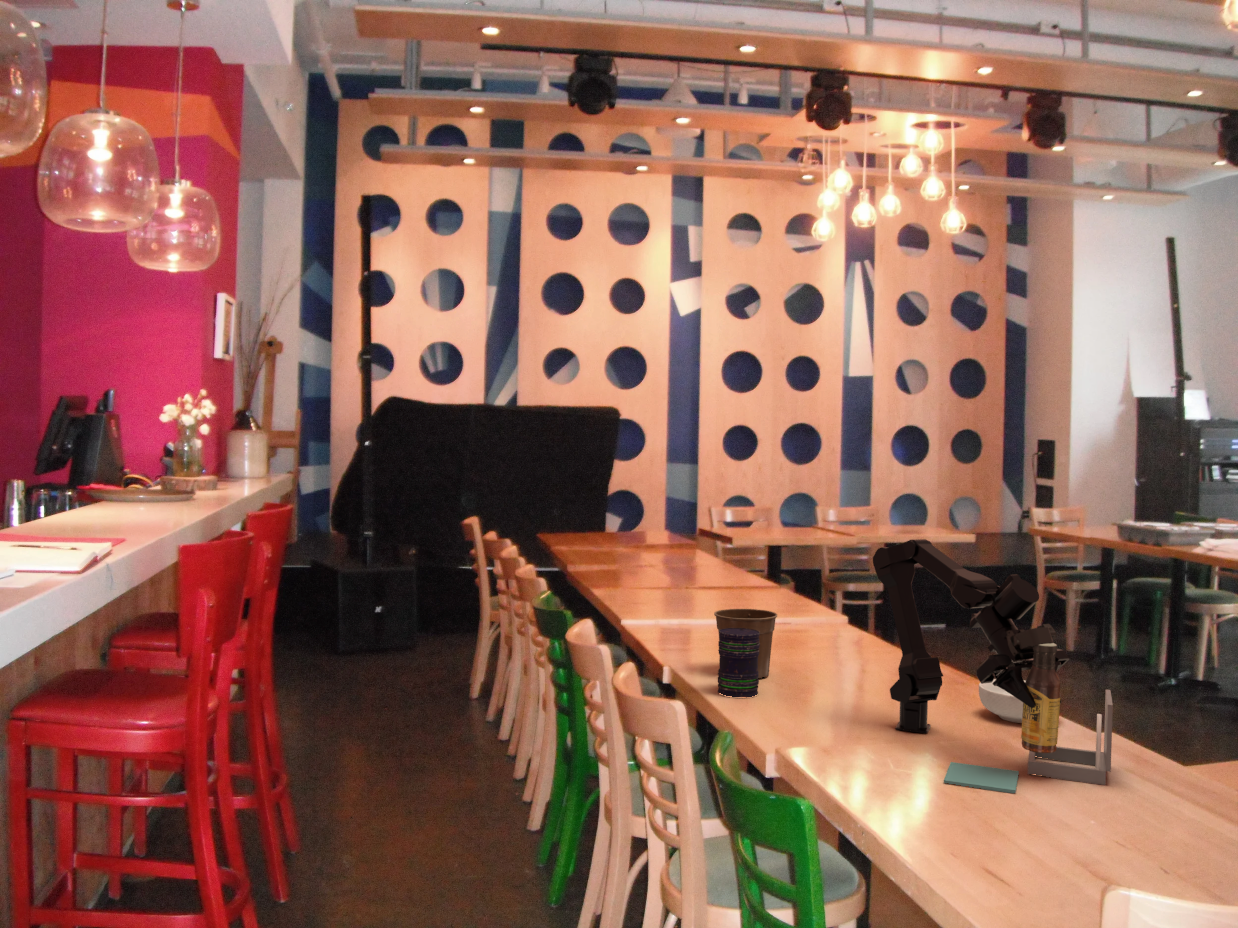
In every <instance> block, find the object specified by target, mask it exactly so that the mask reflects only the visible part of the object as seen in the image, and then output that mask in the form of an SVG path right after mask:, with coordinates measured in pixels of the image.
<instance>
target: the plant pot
mask: <svg viewBox="0 0 1238 928" xmlns="http://www.w3.org/2000/svg"><path fill="white" fill-rule="evenodd" d="M714 617H715V620H716V629H717V630H718V631H717V632H718V637H719V636H720V634H719V630H720V629H725V628H747V629H753V630H757V631H759V632H760V633H759V643H760V648H759V656H758V672H759V676H758V678H761V679H763V678H762V677H765V678H767V677H769V674H770V667H771V666H770V665H771V655H772V654H771V652H772V646H773V645H772V643H773V634H774V631H775V624H776V618H778V614H777V612H774V611H772V610H771V611H770V610H765V609H757V608H755V609H754V608H729V609H720V610H716V611H714ZM766 676H767V677H766Z"/></svg>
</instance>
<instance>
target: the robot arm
mask: <svg viewBox="0 0 1238 928" xmlns="http://www.w3.org/2000/svg"><path fill="white" fill-rule="evenodd" d="M872 563H873V568H874V571H875V574H876V576H877V579H878V580H879V581H880V583H882V584H883V585H884V587H885V588H886V589H887V593H888V597H889V601H890V605H891V610H892V613H893V619H894V623H895V627H896V631H897V636H898V641H899V645H900V646H899V647H900V650H901V654H902V656H901V658H900V663H899V665H898V668H897V669H898V670H897V671H898V676H899V677H898V679H897V680H896V682H894V684H893V685H892V686H891V687H890V688H889V694H890V700H893V701H897V702H899V716H898V717H899V721H898V722H897V724H896V726H895V730H896V731H904V732H911V733H919V734H928V733H929V731H930V728H932V727H931V726H932V725H931V724H930V723H928V709H929V708H928V706H929V705H928V704H929V702H930V701H937V700H938V696H939V693H940V690H941V688H942V686H943V677H944V674H943V672H942V669H941V662H940V659H939V657H937V656H933V657H932V656H931V654H930V653H929V652H928V650H927V648H926V645H925V644H926V643H925V640H924V636H923V632H922V631H923V630H922V627H921V623H920V618H919V614H918V611H917V605H916V602H915V597H914V592H913V588H912V583H913V580H914V576H915V573H916V568H915V566H916V565H918V564H919V565H920V566H922V567H923V568H924V569H926V570H927V571H928V572H929V573H930V574H932V575H933V576H935V577H936V578H937V579H938V580H940V581H941V582H942V583H943V584H945V585H946V586H947V587H948V588H949V590H950V591H949V592H950V594H951V596H952V597H953V599H955V601H956V602H957V603H958V604H959V605H960V606H961V607H962V608H964V609H979V608H981V609H980V610H979V611H978V612H977V613H971V619H970V622H969V628H973V629H974V628H981V630H982V631H983V634H984V636H986V639H987V640H988V641H989V643H990V644H989V646H988V647H987V649H988V650H989V652H990V653H994V652H995V653H996V654H991V655H988V656H987V657H986V658H985V659H984V660H983V661H982V663H981V664H979V665H978V666H977V667H976V671H975V672H976V674H975V675H976V676H975V677H977V679H978V681H979V683H980V682H981V684H983V683H992V682H993V680H994V679H996V680H995V681H994V682H993V685H994V686H998V687H1000V688H1001V689H1003V690H1005V691H1006V692H1008V693H1010V694H1011V695H1013V696H1014V697H1016V698H1017V699H1019V700H1020V701H1022V702H1023V703H1025V704H1026V705H1027V706H1029V707H1030V708H1034V707H1035V706H1036V703H1035V701H1034V699H1033V697H1032V695H1031V693H1030V691H1029V689H1028V687H1027V686H1026V684H1025V682H1024V678H1023V671H1028V670H1029V671H1030V670H1031V668H1032V665H1033V657H1034V651H1033V646H1037V645H1040V644H1044V643H1050V644H1051V643H1054V641H1055V640H1056V639H1057V638H1058V637H1057V631H1055V629H1054V628H1053V626H1052V625H1051V623H1043V624H1042V625H1037V627H1033V628H1029V629H1027V630H1025V629H1023V628H1022V629H1021V628H1020V629H1019V628H1018V627H1017V626H1016V624H1015V622H1014V621H1013V620H1015V621H1017V620H1021V618H1022V617H1023V616H1024V615H1025V614H1026V613H1027V612H1028V611H1029V610H1030V609H1031V608H1033V606H1034V605H1036V603H1037V602H1038V601H1039V600H1040V594H1039V591H1038V589H1037V588H1036V587H1035V586H1033V585H1032V583H1030V582H1028V581H1027V580H1026V579H1022V578H1021V577H1020V575H1019V574H1009V575H1008V576H1007V578H1006V579H1005V581H1004V582H1003V583H1002V584H1001V585H998V584H997V582H995V581H994V579H993V578H990V577H988V576H985V575H984V574H981V573H979V572H974V571H970V570H968V569H966V568H964V567H963V566H961V565H960V564H959V563H957V562H956V561H955V560H953V559H952V558H951V557H949V556H948V555H947V554H945V553H944V552H942V551H941V550H939V548H938V547H936V546H935V545H933V544H932V542H931V541H930V540H928V539H926V538H923V539H922V538H921V539H919V538H917V539H909V540H907V541H904V542H903V543H899V544H895V545H892V546H888V547H886V546H883V547H878V549H876V551H875V552H874V555H873V556H872ZM1068 661H1070V658H1069V656H1068V655H1067V653H1066V652H1065V649H1064V650H1063V649H1060V648H1057V652H1056V654H1055V672H1056V673H1057V672H1058V671H1059V670H1060V669H1061V668H1062V667H1063V666H1064V665H1065V664H1067V663H1068ZM1060 704H1062V698H1061V696H1060Z"/></svg>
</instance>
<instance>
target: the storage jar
mask: <svg viewBox="0 0 1238 928" xmlns="http://www.w3.org/2000/svg"><path fill="white" fill-rule="evenodd" d="M759 633H760V632H759V631H757V630H753V629H747V628H725V629H720V630H719V632H718V650H717V651H718V655H719V662H718V663H719V664H718V665H719V666H718V667H719V668H718V670H717V671H718V672H717V683H718V684H717V687H718V688H717V693H718V692H719V693H721V694H723V695H726V696H732V697H752V696H755V695H757V694H758V695H759V691H758V689H759V684H760V679H758V676H759V672H758V656H759V648H760V643H759ZM719 634H720V636H719ZM752 698H753V697H752Z"/></svg>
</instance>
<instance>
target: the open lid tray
mask: <svg viewBox="0 0 1238 928" xmlns="http://www.w3.org/2000/svg"><path fill="white" fill-rule="evenodd" d="M1104 698H1105V699H1104V700H1105V704H1104V732H1103V733H1104V734H1103V738H1104V739H1103V751H1102V729H1103V727H1102V723H1103V722H1102V720H1103V714H1101V713H1097V714H1096V734H1095V737H1096V738H1095V739H1096V741H1095V742H1096V743H1095V750H1089V749H1082V748H1081V749H1080V748H1071V747H1065V746H1064V747H1063V746H1058V745H1056V747H1057V749H1056V751H1055V752H1053V753H1035V752H1032V751H1029V750H1028V758H1027V759H1028V760H1027V775H1028V774H1036V775H1042V776H1046V777H1045V778H1049V777H1051V778H1050V779H1056V778H1057V780H1065V781H1072V782H1078V781H1080V783H1081V782H1082V783H1086V784H1087V783H1088V784H1094V785H1095V784H1096V785H1102V786H1106V779H1107V778H1106V777H1107V776H1106V775H1107V772H1108V773H1111V772H1112V747H1113V746H1112V745H1113V744H1112V740H1113V714H1114V713H1113V712H1114V711H1113V710H1114V707H1113V706H1114V705H1113V698H1112V693H1111V689H1105V697H1104ZM1035 756H1037V757H1042V758H1048V759H1054V760H1053V761H1055V760H1059V762H1063V761H1067V762H1066V763H1071V762H1076V763H1075V764H1079V763H1083V764H1082V765H1087V764H1088V765H1089V766H1094V765H1095V766H1094V767H1086V766H1080V765H1070V764H1064V763H1057V762H1056V763H1055V762H1049V761H1041V760H1036V758H1035ZM1048 759H1047V760H1048ZM1088 765H1087V766H1088Z"/></svg>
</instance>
